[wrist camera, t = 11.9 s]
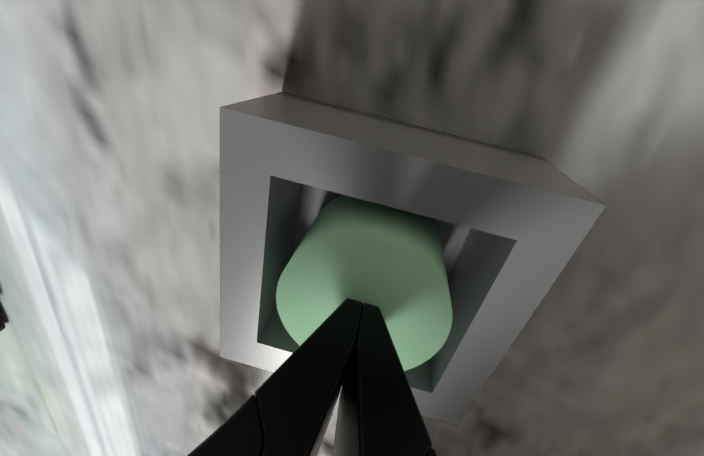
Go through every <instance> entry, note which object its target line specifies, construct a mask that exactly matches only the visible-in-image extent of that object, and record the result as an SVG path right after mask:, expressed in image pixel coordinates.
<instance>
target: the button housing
mask: <svg viewBox="0 0 704 456" xmlns="http://www.w3.org/2000/svg"><path fill="white" fill-rule="evenodd" d="M341 195H347V196H350V197H354V198H358V199H362V200H366V201H369V202H373V203H377V204H381V205H385V206H388V207H392V208H396V209H400V210H404V211H407V212H411V213H415V214H419V215H423V216H426V217H430V218H432V220H433V221H434V223H435V225H436V227H437V229H438V231H439V234H440V237H441V242H442V249H443V255H444V261H445V268H446V274H447V280H448V286H449V293H450V299H451V306H452V312H453V315H452V326H451V330H450V333H449V335H448V338H447V340H446V341H445V343H444V345H443V346H442V347H441V349H440V350H439V351H438V352H437V353H436V354H435V355H434V356H433V357H431V358H430V359H429V360H427V361H426V362H424V363H423V364H421V365H419V366H417V367H414V368H412V369H409V370H406V371H404V372H405V374H406V377H407V380H408V382H409V385H410V387H411V390H412V393H413V395H414V398H415V400H416V403H417V405H418V408H419V411H420V413H421V416H424V417H427V418H430V419H434V420H437V421H441V422H444V423H447V424H451V425H454V426H457V425H458V423H459V422H460V420H461V419H462V417H463V416H464V414H465V413H466V411H467V410H468V408H469V407H470V406H471V404H472V403H473V401H474V400H475V398H476V397H477V395H478V394H479V392H480V391H481V389H482V388H483V386H484V385H485V383H486V382H487V380H488V379H489V378H490V376H491V375H492V373H493V372H494V370H495V369H496V367H497V366H498V364H499V363H500V361H501V360H502V358H503V357H504V355H505V354H506V352H507V351H508V350H509V348H510V347H511V345H512V344H513V342H514V341H515V339H516V338H517V336H518V335H519V333H520V332H521V330H522V329H523V327H524V326H525V324H526V323H527V322H528V320H529V319H530V317H531V316H532V314H533V313H534V311H535V310H536V308H537V307H538V305H539V304H540V302H541V301H542V299H543V298H544V296H545V295H546V294H547V292H548V291H549V289H550V288H551V286H552V285H553V283H554V282H555V280H556V279H557V277H558V276H559V274H560V273H561V271H562V270H563V269H564V267H565V266H566V264H567V263H568V261H569V260H570V258H571V257H572V255H573V254H574V252H575V251H576V249H577V248H578V246H579V245H580V243H581V242H582V241H583V239H584V238H585V236H586V235H587V233H588V232H589V230H590V229H591V227H592V226H593V224H594V223H595V221H596V220H597V218H598V217H599V215H600V214H601V213H602V211H603V210H604V208H605V207H606V205H605V204H603V203H602V202H601V201H599V200H598V199H597V198H595V197H594V196H593V195H591V194H590V193H589V192H587V191H586V190H585V189H583V188H582V187H581V186H579V185H578V184H577V183H575V182H574V181H573V180H571V179H570V178H569V177H567V176H566V175H565V174H563V173H562V172H561V171H559V170H558V169H557V168H555V167H554V166H553V165H551V164H550V163H549V162H547V161H546V160H545V159H543V158H542V157H538V156H534V155H530V154H526V153H522V152H518V151H514V150H510V149H506V148H502V147H498V146H494V145H490V144H486V143H482V142H478V141H474V140H470V139H466V138H462V137H458V136H454V135H450V134H446V133H442V132H438V131H434V130H430V129H426V128H422V127H418V126H414V125H410V124H406V123H402V122H398V121H394V120H390V119H386V118H382V117H378V116H374V115H370V114H366V113H362V112H358V111H354V110H350V109H346V108H342V107H338V106H334V105H330V104H326V103H322V102H318V101H314V100H310V99H306V98H302V97H298V96H294V95H290V94H286V93H282V92H280V93H276V94H272V95H267V96H263V97H259V98H255V99H251V100H247V101H243V102H239V103H235V104H231V105H227V106H223V107H220V357H223V358H227V359H230V360H233V361H237V362H240V363H244V364H247V365H250V366H254V367H257V368H261V369H264V370H267V371H271V372H275V371H276V370H277V369H278V368H279V367H280V366H281V365H282V364H283V363H284V362H285V361H286V360H287V359H288V358H289V357H290V356H291V355H292V353H293V352H294V351H295V350H296V349H297V348H298V347H299V345H298V344H297V343H296V342H295V341H294V339H293V338H292V337H291V336H290V334H289V333H288V332H287V330H286V328H285V327H284V325H283V323H282V321H281V319H280V316H279V313H278V310H277V303H276V290H277V285H278V281H279V279H280V276H281V274H282V272H283V271H284V269H285V267H286V266H287V264H288V263H289V261H290V259H291V258H292V256H293V254H294V253H295V251H296V249H297V248H298V246H299V245H300V243H301V241H302V240H303V238H304V236H305V235H306V233H307V231H308V230H309V228H310V227H311V225H312V223H313V222H314V220H315V218H316V217H317V215H318V214H319V212H320V211H321V210H322V209H323V208H324V207H325V206H326V205H327V204H328V203H329V202H331V201H332V200H334V199H335V198H337V197H339V196H341ZM341 387H342V386H341ZM340 392H341V390H340Z"/></svg>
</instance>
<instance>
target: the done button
mask: <svg viewBox="0 0 704 456" xmlns="http://www.w3.org/2000/svg"><path fill="white" fill-rule="evenodd" d="M347 298H350V299H353V300H357V301H360V302H362V305H363V304H364V303H368V304H371V305H375V306H378V307H379V308H380V310H381V312H382V315H383V318H384V320H385V323H386V325H387V328H388V330H389V333H390V336H391V338H392V341H393V343H394V346H395V349H396V351H397V354H398V356H399V359H400V362H401V364H402V367H403V369H404V371H406V370H409V369H412V368H414V367H417V366H419V365H421V364H423V363H424V362H426V361H427V360H429V359H430V358H431V357H433V356H434V355H435V354H436V353H437V352H438V351H439V350H440V349H441V347H442V346H443V345H444V343H445V341H446V340H447V338H448V335H449V333H450V330H451V326H452V315H453V312H452V306H451V299H450V293H449V286H448V280H447V274H446V268H445V261H444V255H443V249H442V242H441V237H440V234H439V231H438V229H437V227H436V225H435V223H434V221H433V220H432V218H430V217H426V216H423V215H419V214H415V213H411V212H407V211H404V210H400V209H396V208H392V207H388V206H385V205H381V204H377V203H373V202H369V201H366V200H362V199H358V198H354V197H350V196H347V195H341V196H339V197H337V198H335V199H334V200H332V201H331V202H329V203H328V204H327V205H326V206H325V207H324V208H323V209H322V210H321V211H320V212H319V214H318V215H317V217H316V218H315V220H314V222H313V223H312V225H311V227H310V228H309V230H308V231H307V233H306V235H305V236H304V238H303V240H302V241H301V243H300V245H299V246H298V248H297V249H296V251H295V253H294V254H293V256H292V258H291V259H290V261H289V263H288V264H287V266H286V267H285V269H284V271H283V272H282V274H281V276H280V279H279V281H278V285H277V290H276V303H277V310H278V313H279V316H280V319H281V321H282V323H283V325H284V327H285V328H286V330H287V332H288V333H289V334H290V336H291V337H292V338H293V339H294V341H295V342H296V343H297V344H298V345H299V346H300V345H301V344H302V343H303V342H304V341H305V340H306V339H307V338H308V337H309V336H310V335H311V334H312V333H313V332H314V331H315V330H316V329H317V328H318V327H319V326H320V325H321V324H322V323H323V322H324V321H325V320H326V319H327V318H328V317H329V316H330V315H331V314H332V313H333V312H334V310H335V309H336V308H337V307H338V306H339V305H340V304H341V303H342V302H343V301H344V300H345V299H347Z"/></svg>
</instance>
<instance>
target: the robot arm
mask: <svg viewBox="0 0 704 456" xmlns="http://www.w3.org/2000/svg"><path fill="white" fill-rule="evenodd" d="M3 329H5V324H4V322H3V320H2V318H1V316H0V331H2V330H3ZM341 386H342V387H341ZM340 390H341V392H340ZM339 393H340V398H339V406H338V414H337V423H336V432H335V440H334V449H333V456H437V454H436V452H435V449H433V448H432V442H431V439H430V436H429V434H428V431H427V429H426V426H425V424H424V421H423V418H422V416H421V413H420V411H419V408H418V405H417V403H416V400H415V398H414V395H413V393H412V390H411V387H410V385H409V382H408V380H407V377H406V374H405V372H404V369H403V367H402V364H401V362H400V359H399V356H398V354H397V351H396V349H395V346H394V343H393V341H392V338H391V336H390V333H389V330H388V328H387V325H386V323H385V320H384V318H383V315H382V312H381V310H380V308H379V307H378V306H375V305H371V304H368V303H364V304H363V305H362V302H360V301H357V300H353V299H350V298H347V299H345V300H344V301H343V302H342V303H341V304H340V305H339V306H338V307H337V308H336V309H335V310H334V312H333V313H332V314H331V315H330V316H329V317H328V318H327V319H326V320H325V321H324V322H323V323H322V324H321V325H320V326H319V327H318V328H317V329H316V330H315V331H314V332H313V333H312V334H311V335H310V336H309V337H308V338H307V339H306V340H305V341H304V342H303V343H302V344H301V345H300V346H299V347H298V348H297V349H296V350H295V351H294V352H293V353H292V355H291V356H290V357H289V358H288V359H287V360H286V361H285V362H284V363H283V364H282V365H281V366H280V367H279V368H278V369H277V370H276V371H275V372H274V373H273V374H272V375H271V376H270V377H269V378H268V379H267V380H266V381H265V382H264V383H263V384H262V385H261V386H260V387H259V388H258V389H257V390H256V391H255V395H251V396H250V397H249V398H248V399H247V400H246V401H245V402H244V403H243V404H242V405H241V406H240V407H239V408H238V410H236V411H235V412H234V413H233V414H232V415H231V416H230V417H229V418H228V419H227V420H226V421H225V422H224V423H223V424H222V425H221V426H220V427H219V428H218V429H217V430H216V431H215V432H214V433H213V434H211V435H210V436H209V437H208V438H207V439H206V440H205V441H203V442H202V443H201V444H200V445H199V446H198V447H196V448H195V449H194V450H193V451H192V452H191V453H190V454H188V455H187V456H317V454H318V451H319V449H320V446H321V443H322V440H323V438H324V435H325V432H326V429H327V427H328V424H329V421H330V418H331V416H332V413H333V410H334V407H335V405H336V402H337V399H338V396H339Z"/></svg>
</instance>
